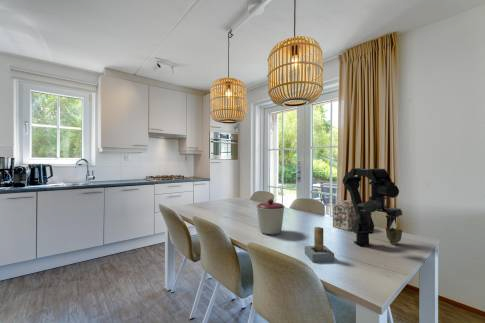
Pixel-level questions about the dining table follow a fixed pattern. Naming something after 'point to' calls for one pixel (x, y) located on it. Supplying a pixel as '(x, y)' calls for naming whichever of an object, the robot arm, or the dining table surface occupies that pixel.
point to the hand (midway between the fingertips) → (378, 227)
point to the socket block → (319, 254)
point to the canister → (270, 217)
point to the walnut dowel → (318, 239)
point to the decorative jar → (344, 215)
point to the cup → (394, 235)
